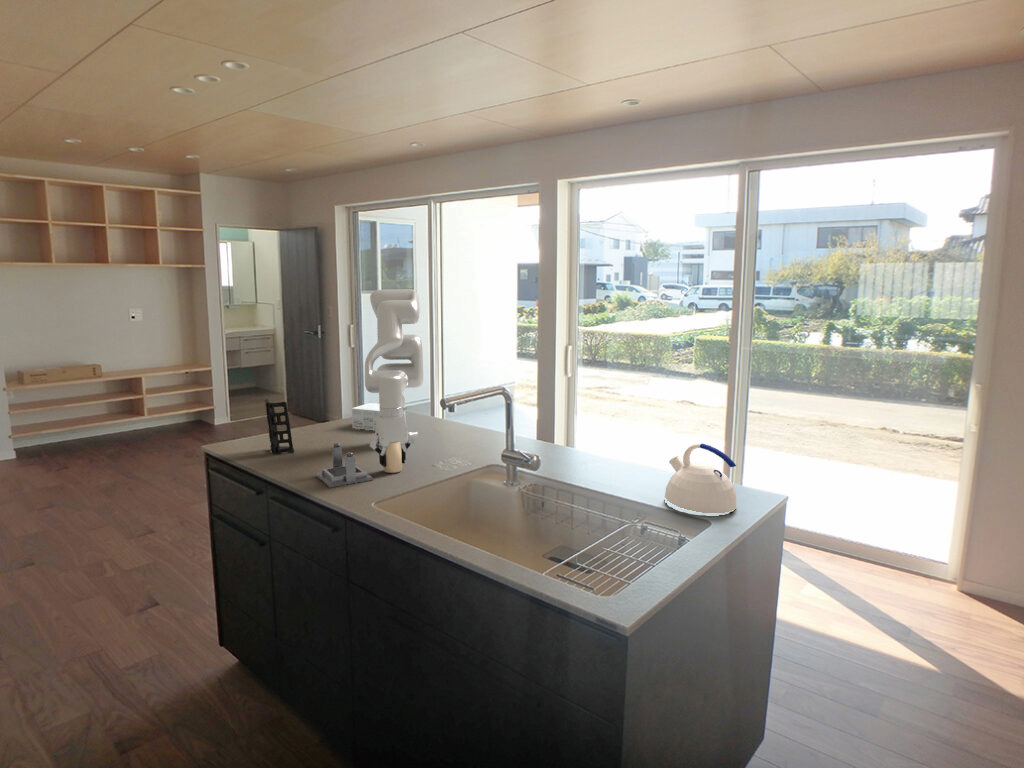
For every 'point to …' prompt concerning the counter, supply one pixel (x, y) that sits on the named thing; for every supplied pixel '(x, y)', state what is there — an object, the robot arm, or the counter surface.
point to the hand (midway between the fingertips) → (392, 463)
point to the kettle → (701, 484)
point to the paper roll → (393, 457)
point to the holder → (273, 427)
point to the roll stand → (342, 470)
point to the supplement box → (365, 416)
